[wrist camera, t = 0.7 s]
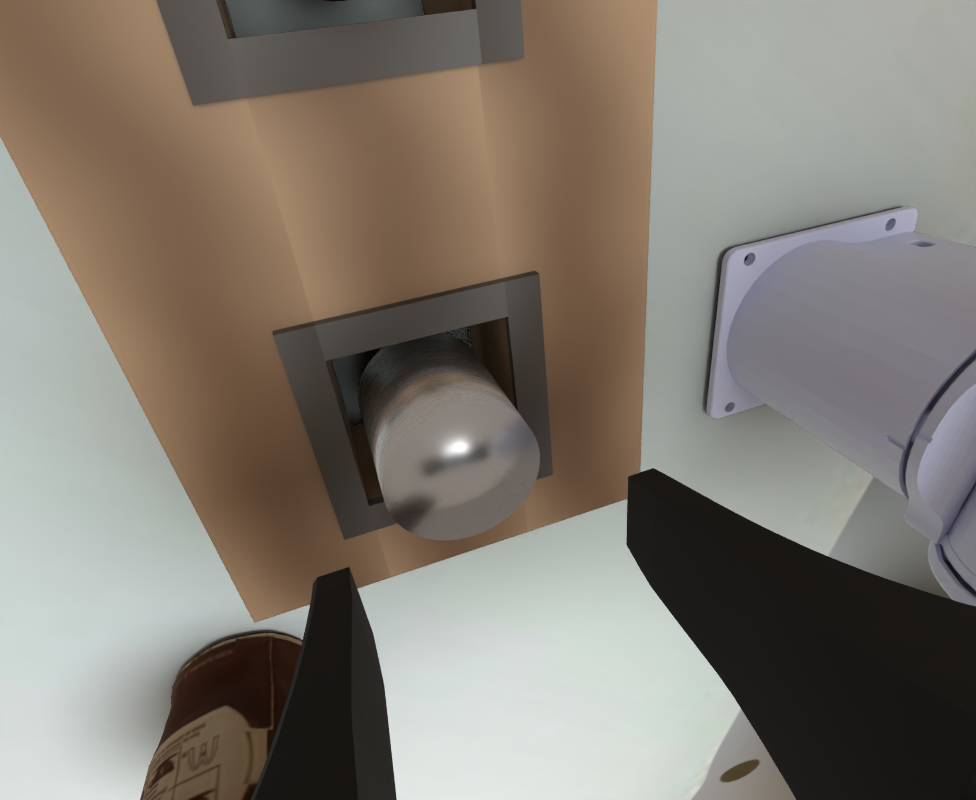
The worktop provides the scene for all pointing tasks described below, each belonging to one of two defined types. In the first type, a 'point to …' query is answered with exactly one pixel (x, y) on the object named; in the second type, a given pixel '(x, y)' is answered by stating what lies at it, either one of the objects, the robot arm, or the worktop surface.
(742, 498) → the worktop surface
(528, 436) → the metal peg
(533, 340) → the socket block
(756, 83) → the worktop surface
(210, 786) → the coffee cup
